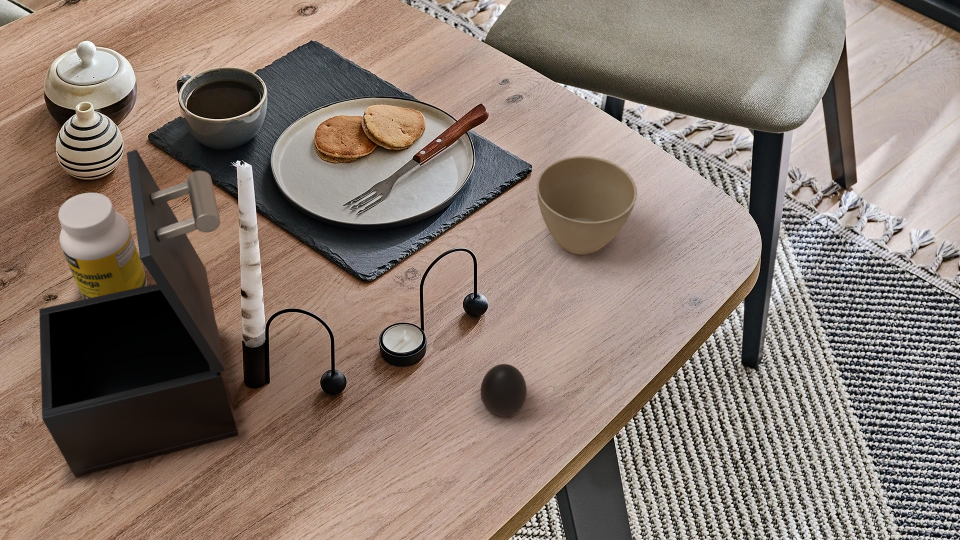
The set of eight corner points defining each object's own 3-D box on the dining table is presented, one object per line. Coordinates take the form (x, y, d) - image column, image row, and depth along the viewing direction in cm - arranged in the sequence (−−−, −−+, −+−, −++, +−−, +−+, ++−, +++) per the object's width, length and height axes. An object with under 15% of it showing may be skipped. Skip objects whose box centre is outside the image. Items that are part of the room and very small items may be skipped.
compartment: (75, 478, 79) (41, 418, 72) (69, 371, 86) (38, 308, 80) (239, 436, 82) (221, 375, 75) (220, 336, 89) (202, 273, 83)
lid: (139, 258, 64) (216, 232, 65) (126, 152, 72) (195, 129, 72) (215, 374, 75) (280, 350, 76) (197, 271, 82) (256, 251, 83)
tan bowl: (586, 193, 104) (594, 143, 99) (646, 248, 99) (657, 197, 93) (513, 228, 100) (517, 177, 95) (571, 286, 95) (578, 236, 89)
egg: (470, 404, 85) (471, 371, 81) (500, 377, 87) (502, 343, 83) (505, 430, 83) (507, 397, 79) (534, 402, 85) (538, 369, 81)
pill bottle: (70, 305, 91) (33, 224, 83) (105, 261, 95) (74, 180, 87) (127, 321, 90) (95, 240, 82) (160, 276, 94) (133, 194, 86)
